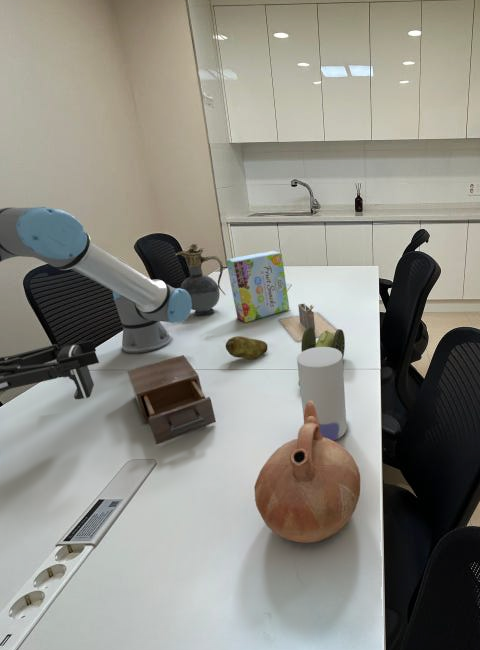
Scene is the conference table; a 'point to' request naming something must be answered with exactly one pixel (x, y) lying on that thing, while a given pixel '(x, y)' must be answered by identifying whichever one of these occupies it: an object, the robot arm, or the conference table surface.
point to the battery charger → (77, 373)
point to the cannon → (323, 340)
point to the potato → (246, 347)
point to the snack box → (258, 285)
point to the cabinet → (160, 378)
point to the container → (324, 388)
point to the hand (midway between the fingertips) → (95, 351)
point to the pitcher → (200, 282)
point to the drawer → (178, 410)
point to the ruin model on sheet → (306, 323)
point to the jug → (308, 485)
